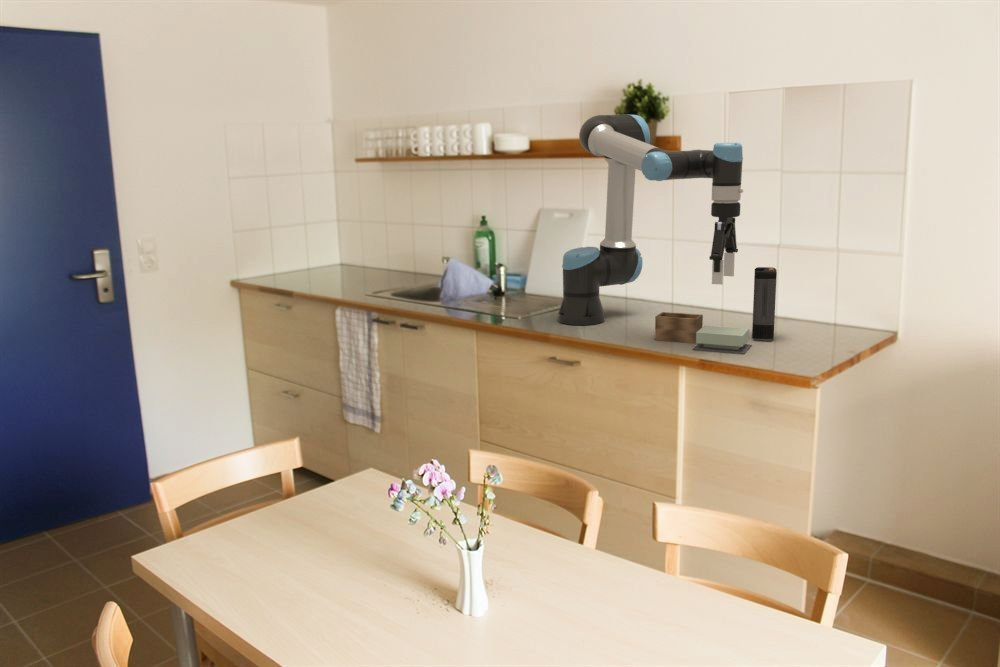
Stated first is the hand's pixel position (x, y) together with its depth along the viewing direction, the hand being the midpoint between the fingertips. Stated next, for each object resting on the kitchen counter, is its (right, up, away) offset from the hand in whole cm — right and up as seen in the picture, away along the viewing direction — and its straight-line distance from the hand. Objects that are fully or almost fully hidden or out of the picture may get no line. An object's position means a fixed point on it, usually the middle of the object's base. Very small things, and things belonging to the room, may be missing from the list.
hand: (723, 280), depth 231 cm
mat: (+1, -19, +4) cm, 19 cm away
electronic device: (+15, -16, +14) cm, 26 cm away
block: (+1, -17, +3) cm, 17 cm away
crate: (-9, -16, +15) cm, 24 cm away
